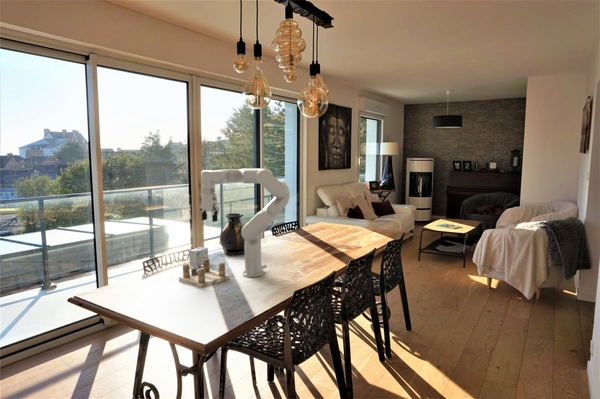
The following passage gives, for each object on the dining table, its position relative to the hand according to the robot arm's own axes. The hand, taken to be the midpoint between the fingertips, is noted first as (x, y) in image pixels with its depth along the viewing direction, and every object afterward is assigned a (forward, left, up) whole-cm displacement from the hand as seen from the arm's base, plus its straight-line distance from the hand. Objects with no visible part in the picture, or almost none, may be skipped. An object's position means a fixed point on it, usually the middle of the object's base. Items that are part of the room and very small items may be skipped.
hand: (209, 220), depth 226 cm
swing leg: (+6, -2, -30) cm, 31 cm away
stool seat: (+9, +5, -32) cm, 34 cm away
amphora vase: (-42, -27, -32) cm, 60 cm away
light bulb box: (-7, -22, -33) cm, 40 cm away
